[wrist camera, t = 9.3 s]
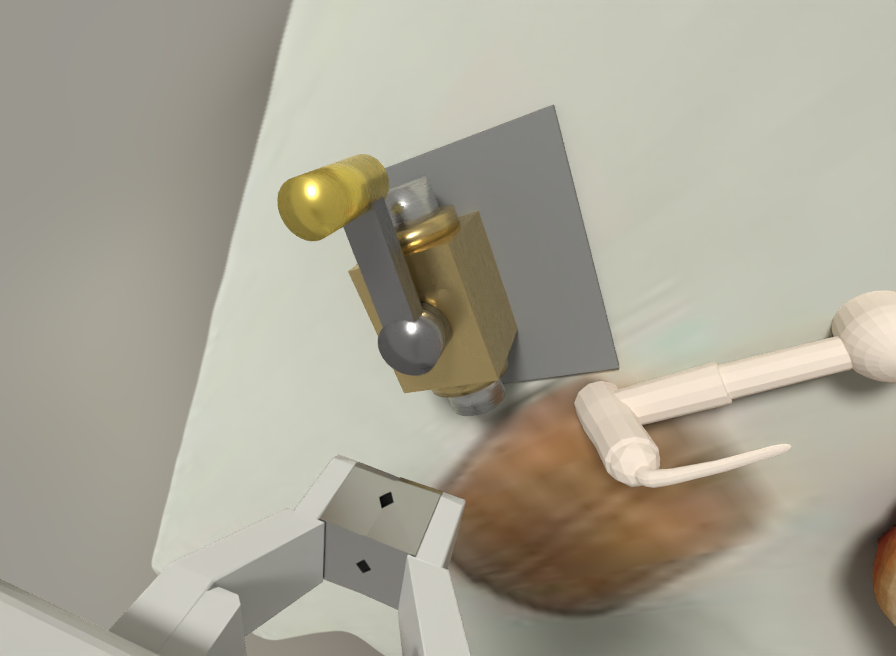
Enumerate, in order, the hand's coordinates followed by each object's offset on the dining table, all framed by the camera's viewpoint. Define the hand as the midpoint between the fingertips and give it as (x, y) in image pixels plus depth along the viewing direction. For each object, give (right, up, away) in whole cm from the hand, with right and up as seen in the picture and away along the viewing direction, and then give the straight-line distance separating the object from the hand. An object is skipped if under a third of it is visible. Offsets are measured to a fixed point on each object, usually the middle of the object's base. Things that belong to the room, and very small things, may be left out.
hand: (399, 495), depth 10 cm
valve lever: (-1, +7, +14) cm, 15 cm away
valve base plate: (+4, +7, +19) cm, 21 cm away
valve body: (+2, +7, +20) cm, 21 cm away
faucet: (+18, +2, +18) cm, 25 cm away
